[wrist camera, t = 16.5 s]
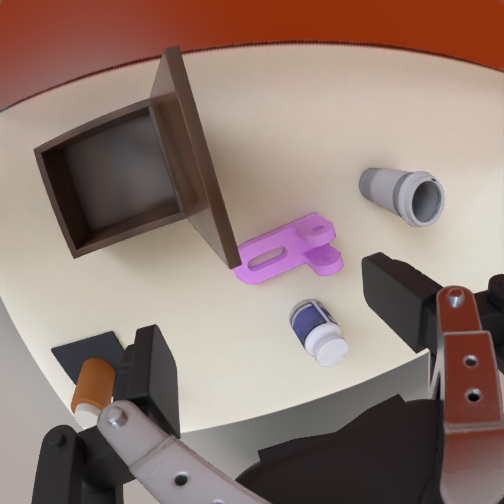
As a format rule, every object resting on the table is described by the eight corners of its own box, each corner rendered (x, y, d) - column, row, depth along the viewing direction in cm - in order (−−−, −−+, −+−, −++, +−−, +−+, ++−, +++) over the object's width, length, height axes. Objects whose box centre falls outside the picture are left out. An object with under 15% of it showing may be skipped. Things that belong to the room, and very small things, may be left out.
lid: (230, 270, 18) (243, 265, 18) (163, 48, 13) (179, 44, 13) (186, 219, 30) (194, 216, 31) (149, 97, 25) (157, 94, 26)
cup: (396, 168, 42) (453, 183, 31) (384, 210, 44) (438, 235, 33) (358, 154, 40) (414, 164, 29) (346, 200, 42) (398, 223, 31)
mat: (88, 399, 45) (88, 401, 44) (51, 348, 40) (50, 350, 40) (147, 386, 46) (147, 388, 46) (112, 330, 41) (112, 332, 41)
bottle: (93, 386, 43) (83, 434, 34) (76, 361, 41) (60, 409, 31) (121, 379, 44) (115, 429, 34) (104, 354, 42) (92, 404, 32)
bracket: (314, 212, 42) (338, 226, 35) (325, 247, 44) (348, 266, 38) (225, 251, 41) (234, 273, 34) (240, 286, 43) (251, 312, 37)
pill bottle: (285, 331, 48) (308, 372, 38) (292, 298, 46) (318, 337, 37) (319, 329, 49) (346, 367, 40) (326, 298, 47) (357, 333, 38)
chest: (90, 238, 36) (73, 259, 30) (57, 146, 31) (33, 149, 25) (188, 202, 38) (190, 216, 31) (158, 104, 33) (153, 96, 26)
